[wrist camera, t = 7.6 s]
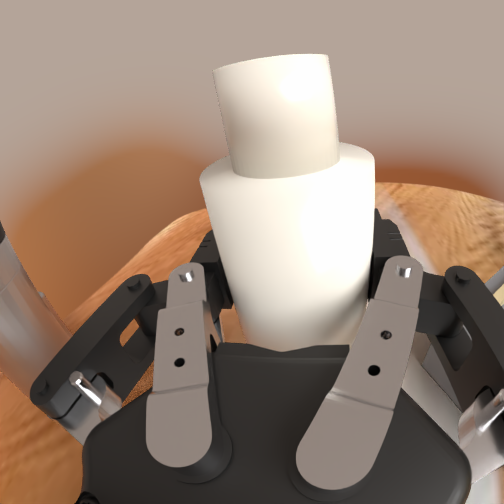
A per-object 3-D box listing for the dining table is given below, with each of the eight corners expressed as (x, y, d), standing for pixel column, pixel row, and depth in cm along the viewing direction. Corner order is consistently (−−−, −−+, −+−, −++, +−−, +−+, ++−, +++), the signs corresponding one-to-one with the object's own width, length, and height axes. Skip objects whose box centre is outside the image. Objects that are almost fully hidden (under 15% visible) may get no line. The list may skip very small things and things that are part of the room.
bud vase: (249, 364, 16) (169, 86, 8) (325, 332, 17) (305, 64, 9) (281, 436, 12) (186, 64, 4) (370, 392, 13) (406, 55, 5)
